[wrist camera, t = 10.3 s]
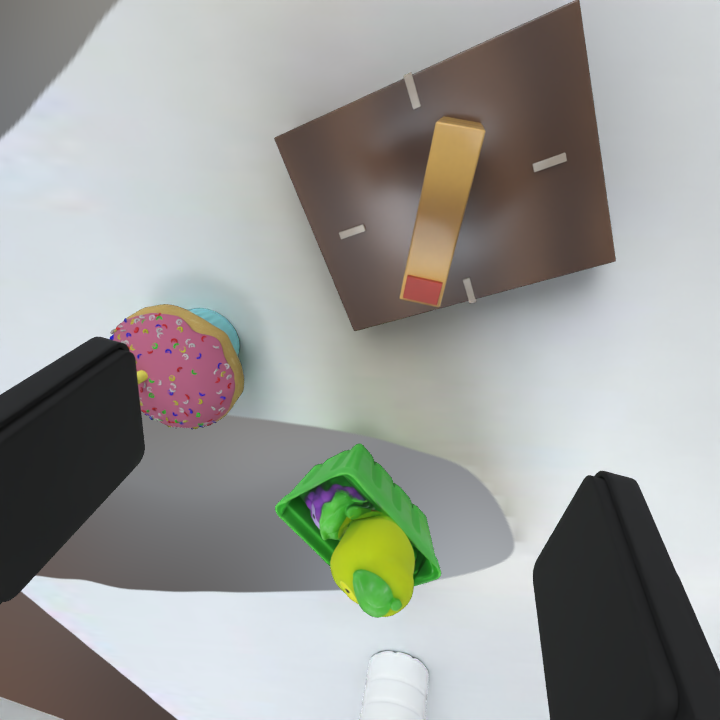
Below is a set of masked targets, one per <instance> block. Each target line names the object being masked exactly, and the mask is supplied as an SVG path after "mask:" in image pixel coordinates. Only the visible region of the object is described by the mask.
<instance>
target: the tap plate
mask: <svg viewBox="0 0 720 720" xmlns="http://www.w3.org/2000/svg"><path fill="white" fill-rule="evenodd" d="M442 117H450V118H456V119H461V120H467V121H473V122H478V123H481V124H482V125H483V127H484V129H485V136H484V140H483V144H482V147H481V151H480V155H479V159H478V163H477V167H476V170H475V174H474V178H473V182H472V186H471V190H470V193H469V197H468V201H467V205H466V209H465V213H464V216H463V220H462V224H461V228H460V232H459V236H458V239H457V243H456V247H455V251H454V255H453V259H452V263H451V266H450V270H449V274H448V278H447V282H446V286H445V289H444V293H443V297H442V301H441V305H440V307H434V306H430V305H425V304H420V303H416V302H411V301H407V300H402V299H400V293H401V288H402V283H403V278H404V273H405V269H406V264H407V259H408V254H409V249H410V244H411V240H412V235H413V230H414V225H415V220H416V216H417V211H418V206H419V201H420V196H421V191H422V187H423V182H424V177H425V172H426V167H427V162H428V158H429V153H430V148H431V143H432V138H433V134H434V129H435V124H436V122H437V121H438V120H439V119H441V118H442ZM274 139H275V142H276V144H277V146H278V149H279V151H280V154H281V156H282V158H283V161H284V163H285V166H286V168H287V170H288V173H289V175H290V178H291V180H292V183H293V185H294V187H295V190H296V192H297V195H298V197H299V199H300V202H301V204H302V207H303V209H304V211H305V214H306V216H307V219H308V221H309V223H310V226H311V228H312V231H313V233H314V236H315V238H316V240H317V243H318V245H319V248H320V250H321V252H322V255H323V257H324V260H325V262H326V264H327V267H328V269H329V272H330V274H331V276H332V279H333V281H334V284H335V286H336V289H337V291H338V293H339V296H340V298H341V301H342V303H343V305H344V308H345V310H346V313H347V315H348V317H349V320H350V322H351V325H352V327H353V329H354V331H357V330H361V329H365V328H369V327H372V326H376V325H380V324H384V323H387V322H391V321H395V320H399V319H402V318H406V317H410V316H413V315H417V314H421V313H425V312H428V311H432V310H436V309H440V308H443V307H447V306H451V305H455V304H458V303H462V302H466V301H469V303H474V302H476V299H477V298H481V297H484V296H488V295H492V294H496V293H499V292H503V291H507V290H511V289H514V288H518V287H522V286H525V285H529V284H533V283H537V282H540V281H544V280H548V279H552V278H555V277H559V276H563V275H567V274H570V273H574V272H578V271H581V270H585V269H589V268H593V267H596V266H600V265H604V264H608V263H611V262H615V261H616V258H615V251H614V243H613V236H612V229H611V222H610V215H609V208H608V201H607V194H606V187H605V179H604V172H603V165H602V158H601V151H600V144H599V137H598V130H597V122H596V115H595V108H594V101H593V94H592V87H591V80H590V73H589V65H588V58H587V51H586V44H585V37H584V30H583V23H582V16H581V8H580V1H579V0H575V1H573V2H570V3H568V4H566V5H564V6H562V7H559V8H557V9H555V10H553V11H551V12H548V13H546V14H544V15H542V16H540V17H538V18H535V19H533V20H531V21H529V22H527V23H524V24H522V25H520V26H518V27H516V28H513V29H511V30H509V31H507V32H505V33H503V34H500V35H498V36H496V37H494V38H492V39H489V40H487V41H485V42H483V43H481V44H478V45H476V46H474V47H472V48H470V49H468V50H465V51H463V52H461V53H459V54H457V55H454V56H452V57H450V58H448V59H446V60H443V61H441V62H439V63H437V64H435V65H432V66H430V67H428V68H426V69H424V70H422V71H419V72H417V73H415V74H413V75H412V72H410V73H408V74H406V75H404V79H402V80H400V81H397V82H395V83H393V84H391V85H389V86H387V87H384V88H382V89H380V90H378V91H376V92H373V93H371V94H369V95H367V96H365V97H362V98H360V99H358V100H356V101H354V102H351V103H349V104H347V105H345V106H343V107H341V108H338V109H336V110H334V111H332V112H330V113H327V114H325V115H323V116H321V117H319V118H316V119H314V120H312V121H310V122H308V123H306V124H303V125H301V126H299V127H297V128H295V129H292V130H290V131H288V132H286V133H284V134H281V135H279V136H277V137H275V138H274Z"/></svg>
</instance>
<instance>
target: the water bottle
mask: <svg viewBox="0 0 720 720" xmlns="http://www.w3.org/2000/svg"><path fill="white" fill-rule="evenodd" d="M428 681H429V674H428V670H427V669H426V668H425V666H424V664H423V663H422V662H421V661H419V660H418V659H416V658H412V657H411V656H410V655H408V654H405V653H401V652H396V653H394V652H393V651H384V652H380V653H379V654H375V655H374V656H372V658H371V659H370V662H369V665H368V671H367V677H366V687H365V690H364V694H363V700H362V710H361V713H360V717H359V720H426V709H427V704H426V700H427V695H428Z"/></svg>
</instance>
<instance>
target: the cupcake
mask: <svg viewBox="0 0 720 720" xmlns="http://www.w3.org/2000/svg"><path fill="white" fill-rule="evenodd" d="M110 333H111V334H113V333H114V335H112V336H111V337H110V340H114V341H118V342H121V343H124V344H126V345H127V346H128V348H129V350H130V352H131V353H133V354H134V356H135V360H136V370H137V379H138V388H139V398H140V407H141V411H142V412H144V413H145V415H148V416H150V419H151V420H156V421H159V422H161V423H163V424H165V425H167V426H168V427H171V426H172V427H174V428H176V427H183V428H191V429H197V428H198V427H202V428H203V427H205V426H206V425H207V426H209V425H211V424H212V423H216V422H217V421H219V420H220V419H222V418H223V417H224V416H226V415H227V413H228V412H229V411H230V410H231V408H232V407H233V405H234V404H235V402H236V401H237V399H238V398H239V397H240V395H241V394H242V392H243V388H244V375H243V370H242V366H241V363H240V361H239V359H238V354H239V348H240V344H239V338H238V335H237V333H236V331H235V329H234V327H233V326H232V325H231V323H230V322H229V321H228V320H227V319H226V318H224V317H223V316H222V315H220V314H219V313H217V312H215V311H212V310H209V309H204V308H196V309H191V310H186V309H184V308H181V307H178V306H174V305H168V304H163V305H157V306H152V307H146V308H143V309H141V310H139V311H137V312H136V313H134V314H132V315H131V316H129V317H128V318H125V319H124V321H123V322H122V323H120V324H119V325H118V326H117V327H116V329H114V330H112V331H111V332H110Z"/></svg>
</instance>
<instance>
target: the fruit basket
mask: <svg viewBox="0 0 720 720" xmlns="http://www.w3.org/2000/svg"><path fill="white" fill-rule="evenodd" d="M275 510H276V513H277V515H278V516H279V517H280V518H281V519H282V520H283V521H284V522H285V523H286V524H287V525H288V526H289V527H290V528H292V530H293V531H294V532H295V533H296V534H297V535H298V536H300V537H301V538H302V539H303V540H304V541H305V542H306V543H307V544H308V545H309V546H310V547H311V548H312V549H313V550H314V551H315V552H316V553H317V554H318V555H319V556H320V557H321V558H322V559H323V560H324V561H325V562H326V563H327V564H328V565H329V566H330V568H331V573H332V576H333V578H334V581H335V582H336V584H337V585H338V587H339V588H340V589H341V590H342V591H343V592H344V593H346V594H347V596H348V597H349V598H350V599H351V600H352V601H354V602H356V603H357V604H359V605H360V607H361V608H362V610H363V611H364V612H366V613H367V614H368V615H370V616H372V617H377V618H378V617H388V616H392V615H394V614H396V613H398V612H399V611H401V610H402V609H403V608H404V607H405V606H406V605H407V604H408V603H409V601H410V599H411V597H412V594H413V588H414V586H417V585H421V584H424V583H427V582H430V581H433V580H436V579H438V578H439V577H440V576H441V570H440V567H439V564H438V560H437V558H436V557H435V554H434V549H433V545H432V540H431V536H430V531H429V527H428V523H427V519H426V516H425V515H424V514H423V512H422V511H421V510H420V509H419V508H418V507H417V506H415V505H414V504H412V503H411V500H410V498H409V497H408V496H407V495H406V493H405V492H404V491H403V490H402V489H401V488H400V487H399V486H398V485H396V484H395V483H393V480H392V478H391V477H390V476H389V474H388V473H387V472H386V471H385V470H384V469H383V468H382V466H381V465H380V464H378V463H377V462H374V459H373V457H372V455H371V454H370V453H369V452H368V450H367V449H366V448H365V447H364V446H363V445H362V444H357V445H355V446H354V447H353V448H352V449H351V450H347V451H343V452H341V453H339V454H337V455H335V456H333V457H331V458H329V459H327V460H326V461H325V462H324V463H323V464H318V465H315V466H314V467H313V468H312V469H311V470H310V471H309V472H308V474H307V475H306V476H305V477H304V478H303V479H302V480H301V481H300V483H299V484H298V485H297V486H296V487H295V488H294V489H293V490H292V491H291V492H290V494H288V495H286V496H285V497H284V498H283V499H282V500H281V501H280V502H279V503H278V504H277V505H276V507H275Z"/></svg>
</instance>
